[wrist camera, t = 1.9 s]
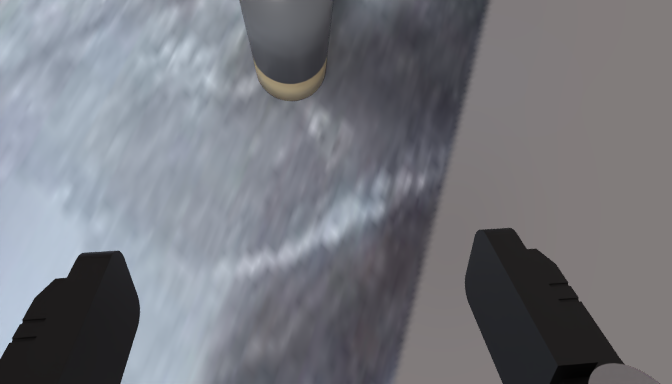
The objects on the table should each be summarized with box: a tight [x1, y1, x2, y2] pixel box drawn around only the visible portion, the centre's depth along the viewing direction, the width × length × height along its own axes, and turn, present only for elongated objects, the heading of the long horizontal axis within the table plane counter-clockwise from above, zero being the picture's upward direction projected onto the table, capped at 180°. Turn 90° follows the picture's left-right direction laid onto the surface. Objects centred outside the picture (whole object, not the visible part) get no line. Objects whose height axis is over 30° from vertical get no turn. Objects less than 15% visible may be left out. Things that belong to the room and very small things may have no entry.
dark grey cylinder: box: [239, 0, 333, 101], centre depth 22 cm, size 4×4×10 cm
